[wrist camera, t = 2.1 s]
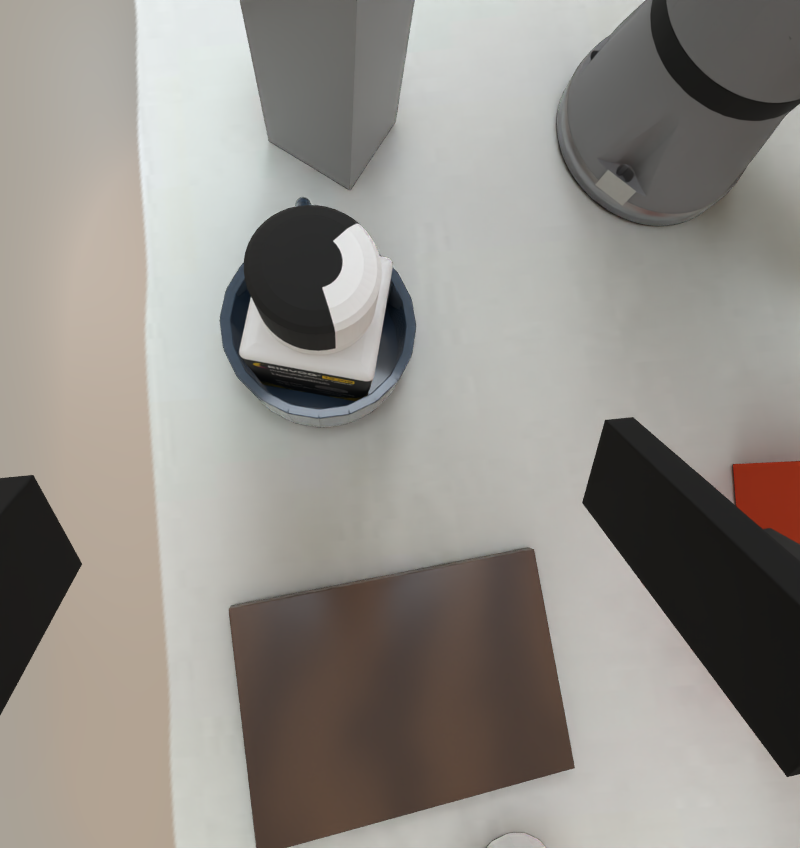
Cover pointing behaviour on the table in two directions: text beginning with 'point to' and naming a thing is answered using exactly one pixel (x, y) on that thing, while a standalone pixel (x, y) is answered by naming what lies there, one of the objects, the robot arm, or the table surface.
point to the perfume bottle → (329, 76)
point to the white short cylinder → (516, 841)
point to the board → (396, 695)
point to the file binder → (770, 495)
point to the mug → (314, 406)
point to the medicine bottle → (314, 303)
